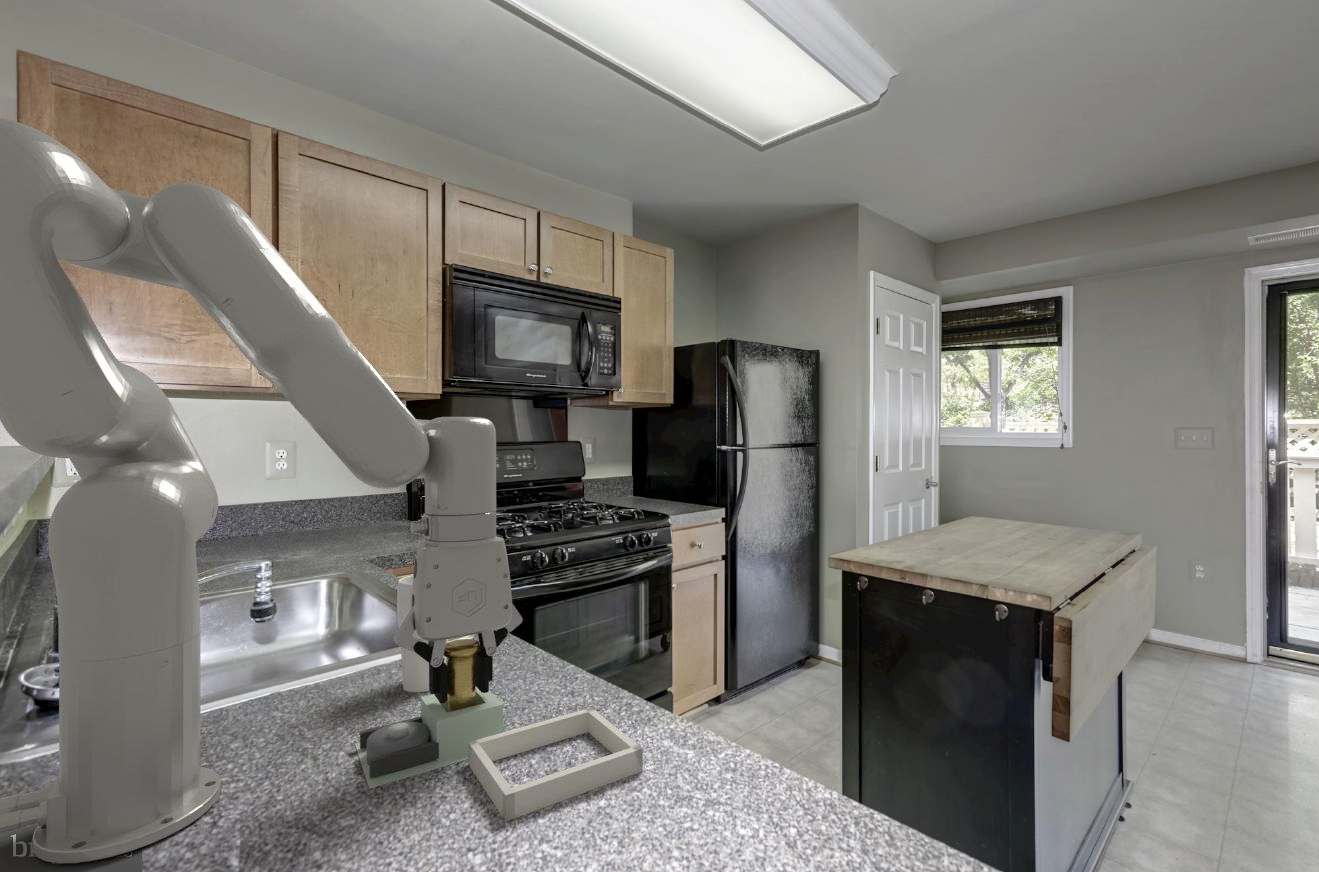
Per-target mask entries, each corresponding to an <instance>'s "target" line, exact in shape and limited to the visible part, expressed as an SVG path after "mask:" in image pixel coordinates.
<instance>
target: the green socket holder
mask: <svg viewBox="0 0 1319 872" xmlns="http://www.w3.org/2000/svg"><path fill="white" fill-rule="evenodd" d="M503 732H504V704H503V703H502V701H500V700H499V698H498V697H497V696H496V695H495V694H494V693H493V692H492V691H491V690H490V689H489V692H487V693H483V692H481V691H480V690H479V689H478V688H477V687H476V706H472V707H468V708H464V709H460V710H456V711H452V712H448V713H447V701H446V703H441V704H440V702H439V701H438V699H437V698H436V697H435V695H434V694H428V695H425V696H421V697H420V716H418V717H417V716H416V717H413V718H408V719H406V720H405V719H404V720H401V721H397V722H394V723H390V724H389V723H388V724H385V725H380V726H377V727H373V728H369V729H365V730H361V731H359V742H357V743H354V745H355V749H356V751H357V756H358V757H359V762H360V765H361V768H362V770H363V774H364V777H365V779H366V783H367V785H368V789H372V788H376V787H378V786H379V787H380V786H383V785H386V784H390V783H393V782H397V781H400V780H403V779H406V778H410V777H413V776H417V775H420V774H423V773H427V772H430V771H434V770H437V769H441V768H443V767H447V766H450V765H454V764H456V763H460V762H464V761H468V742H471V741H474V740H478V739H482V738H485V737H489V736H492V735H496V734H499V733H503Z"/></svg>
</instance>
